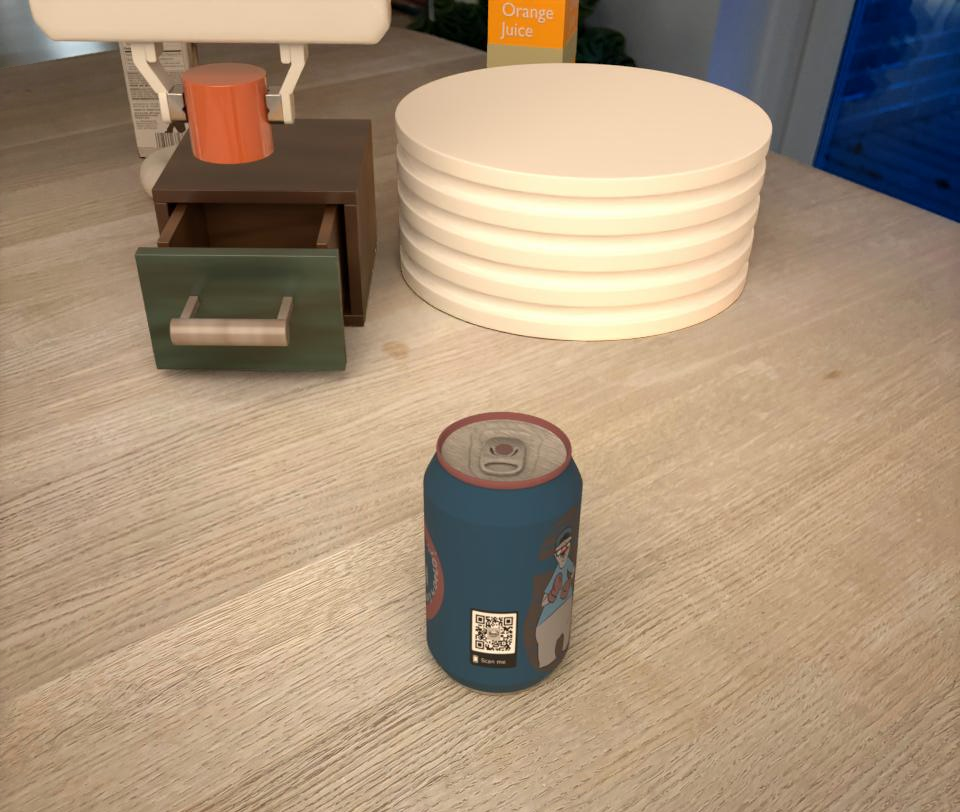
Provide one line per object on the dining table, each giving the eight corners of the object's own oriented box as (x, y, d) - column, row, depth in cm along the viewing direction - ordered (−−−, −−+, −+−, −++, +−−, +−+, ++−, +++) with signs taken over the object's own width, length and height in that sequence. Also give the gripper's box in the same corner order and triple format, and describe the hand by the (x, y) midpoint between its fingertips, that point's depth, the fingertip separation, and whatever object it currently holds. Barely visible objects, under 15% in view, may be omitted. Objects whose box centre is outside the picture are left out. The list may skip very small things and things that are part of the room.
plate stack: (432, 356, 79) (430, 190, 71) (377, 211, 99) (371, 70, 92) (803, 324, 83) (838, 165, 76) (677, 191, 104) (694, 56, 96)
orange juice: (573, 115, 121) (587, -105, 108) (558, 141, 115) (571, -90, 102) (502, 109, 122) (507, -109, 109) (484, 134, 116) (487, -95, 103)
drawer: (338, 411, 71) (328, 292, 66) (139, 409, 71) (113, 290, 66) (361, 280, 86) (354, 175, 81) (196, 279, 86) (179, 173, 81)
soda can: (436, 606, 58) (433, 399, 50) (570, 616, 58) (588, 409, 50) (417, 699, 53) (410, 484, 45) (564, 711, 52) (583, 496, 44)
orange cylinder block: (185, 164, 68) (173, 85, 65) (200, 137, 71) (189, 62, 68) (268, 164, 68) (260, 86, 65) (279, 138, 71) (271, 62, 69)
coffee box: (147, 129, 116) (115, -52, 105) (210, 128, 117) (185, -52, 106) (136, 158, 109) (101, -32, 98) (203, 157, 110) (176, -33, 99)
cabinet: (364, 326, 82) (355, 191, 76) (175, 325, 82) (151, 189, 76) (377, 242, 94) (371, 119, 88) (212, 241, 94) (194, 117, 88)
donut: (277, 191, 103) (200, 166, 108) (274, 152, 101) (195, 128, 105) (197, 224, 97) (119, 196, 101) (192, 183, 95) (112, 157, 99)
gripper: (393, -161, 62) (402, 107, 71) (20, -165, 62) (77, 104, 71) (387, -146, 57) (397, 139, 66) (-17, -151, 57) (49, 136, 66)
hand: (229, 121), depth 68 cm, fingers closed on orange cylinder block, 5 cm apart
